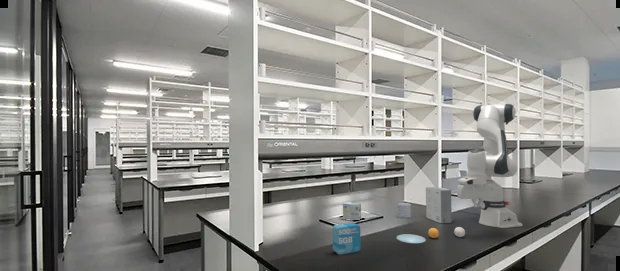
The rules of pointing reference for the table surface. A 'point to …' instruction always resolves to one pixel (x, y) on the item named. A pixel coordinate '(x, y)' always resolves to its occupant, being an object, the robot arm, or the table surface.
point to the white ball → (459, 232)
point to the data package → (346, 238)
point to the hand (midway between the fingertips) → (477, 207)
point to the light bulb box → (352, 210)
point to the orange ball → (433, 233)
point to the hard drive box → (438, 204)
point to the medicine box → (404, 210)
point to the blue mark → (411, 238)
